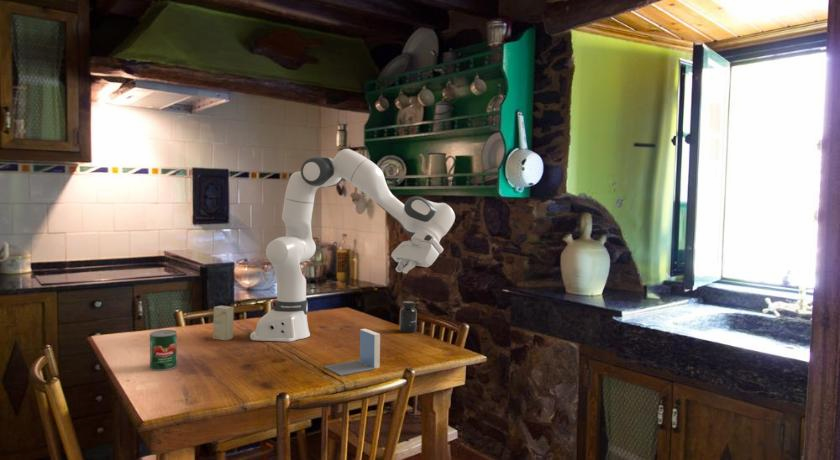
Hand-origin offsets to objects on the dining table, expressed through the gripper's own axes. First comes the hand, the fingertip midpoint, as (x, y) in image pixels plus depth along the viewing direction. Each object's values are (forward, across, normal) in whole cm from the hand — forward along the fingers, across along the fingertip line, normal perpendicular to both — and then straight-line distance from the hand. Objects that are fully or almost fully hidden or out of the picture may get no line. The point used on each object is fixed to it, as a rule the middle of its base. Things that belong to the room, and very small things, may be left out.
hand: (400, 271), depth 205 cm
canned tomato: (+70, -30, -28) cm, 82 cm away
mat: (+36, +3, +5) cm, 37 cm away
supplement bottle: (+4, -28, +38) cm, 47 cm away
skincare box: (+51, -56, -9) cm, 76 cm away
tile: (+31, +3, +11) cm, 33 cm away
